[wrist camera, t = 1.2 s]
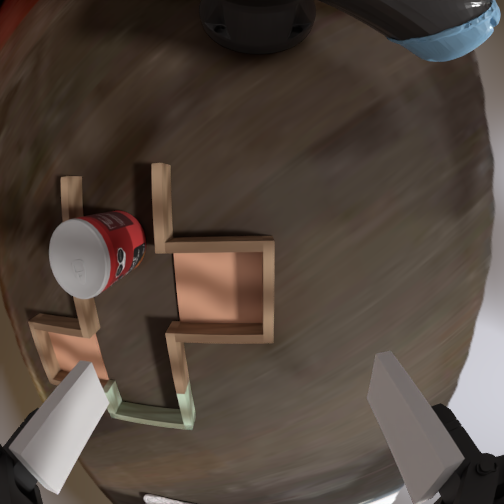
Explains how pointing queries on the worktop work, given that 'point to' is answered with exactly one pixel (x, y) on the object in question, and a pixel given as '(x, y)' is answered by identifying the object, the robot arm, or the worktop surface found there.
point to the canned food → (95, 251)
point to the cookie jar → (161, 500)
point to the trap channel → (189, 302)
